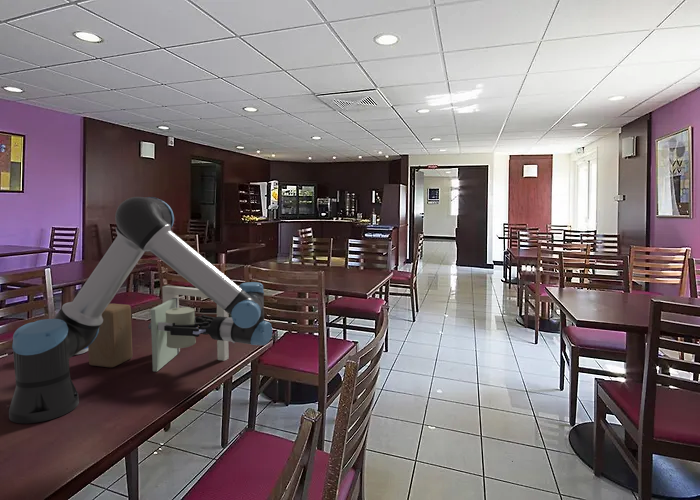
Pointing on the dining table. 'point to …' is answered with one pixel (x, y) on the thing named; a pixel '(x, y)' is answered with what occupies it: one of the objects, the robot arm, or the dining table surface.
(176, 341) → the can
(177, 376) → the dining table surface
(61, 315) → the robot arm
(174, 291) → the door frame
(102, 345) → the wooden block
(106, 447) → the dining table surface
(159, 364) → the door
